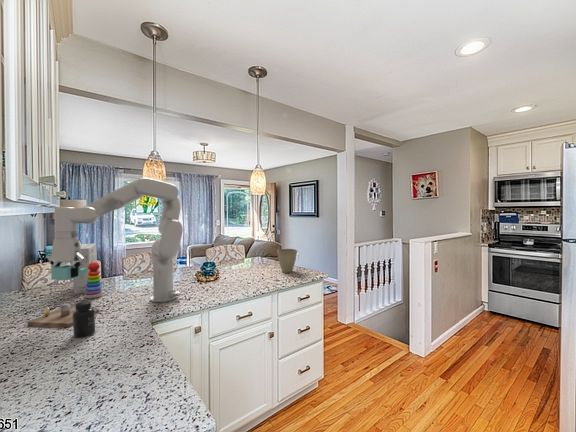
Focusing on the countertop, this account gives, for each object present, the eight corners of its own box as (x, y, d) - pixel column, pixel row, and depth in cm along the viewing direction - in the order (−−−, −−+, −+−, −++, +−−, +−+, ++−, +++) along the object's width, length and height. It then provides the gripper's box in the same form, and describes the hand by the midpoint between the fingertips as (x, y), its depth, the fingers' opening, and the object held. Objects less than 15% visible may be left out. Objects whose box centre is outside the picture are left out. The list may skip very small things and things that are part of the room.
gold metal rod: (50, 315, 120) (49, 307, 120) (47, 316, 119) (46, 308, 119) (47, 315, 120) (46, 307, 120) (44, 316, 119) (43, 308, 119)
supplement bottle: (92, 328, 111) (91, 298, 111) (97, 333, 107) (97, 302, 106) (70, 334, 106) (70, 303, 105) (76, 339, 102) (75, 307, 101)
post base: (98, 312, 128) (98, 299, 128) (69, 327, 112) (68, 312, 112) (62, 310, 129) (62, 298, 129) (27, 325, 113) (27, 311, 113)
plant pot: (298, 273, 201) (298, 251, 200) (278, 274, 199) (278, 251, 198) (295, 268, 216) (295, 248, 215) (276, 269, 214) (276, 248, 213)
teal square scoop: (66, 280, 117) (66, 268, 117) (51, 279, 117) (51, 267, 117) (91, 273, 130) (91, 262, 130) (77, 272, 130) (77, 261, 130)
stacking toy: (93, 299, 145) (92, 264, 144) (80, 298, 146) (79, 263, 146) (106, 294, 152) (105, 261, 152) (94, 294, 154) (93, 260, 153)
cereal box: (90, 292, 158) (88, 248, 157) (73, 293, 154) (72, 249, 153) (97, 282, 177) (96, 243, 176) (82, 283, 174) (81, 244, 173)
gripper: (91, 235, 123) (91, 275, 124) (55, 234, 125) (55, 273, 125) (77, 236, 116) (77, 279, 116) (39, 235, 117) (39, 277, 118)
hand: (66, 276), depth 121 cm, fingers closed on teal square scoop, 7 cm apart
